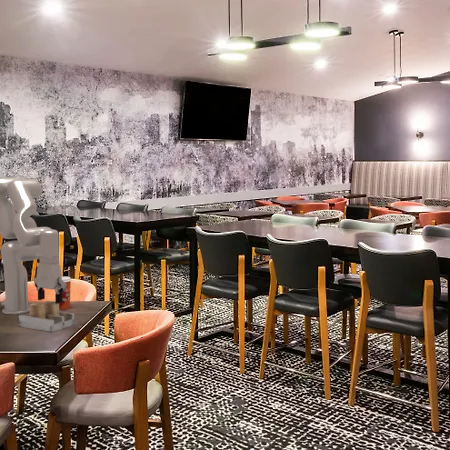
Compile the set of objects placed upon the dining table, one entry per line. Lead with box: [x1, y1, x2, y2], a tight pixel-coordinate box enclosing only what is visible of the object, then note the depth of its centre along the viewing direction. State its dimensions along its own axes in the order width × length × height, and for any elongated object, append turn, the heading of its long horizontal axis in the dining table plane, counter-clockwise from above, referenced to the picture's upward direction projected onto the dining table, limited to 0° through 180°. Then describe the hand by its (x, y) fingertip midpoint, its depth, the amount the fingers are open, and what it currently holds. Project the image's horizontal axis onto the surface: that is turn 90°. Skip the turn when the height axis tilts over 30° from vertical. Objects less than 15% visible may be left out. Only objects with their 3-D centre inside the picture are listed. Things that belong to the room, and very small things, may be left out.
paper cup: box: [54, 276, 72, 311], centre depth 271 cm, size 8×8×14 cm
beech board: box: [43, 300, 60, 316], centre depth 244 cm, size 6×2×9 cm, turn 60°
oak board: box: [29, 303, 46, 319], centre depth 241 cm, size 6×2×9 cm, turn 61°
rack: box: [18, 310, 75, 333], centre depth 242 cm, size 18×12×5 cm
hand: (50, 301), depth 245 cm, fingers open, 9 cm apart
